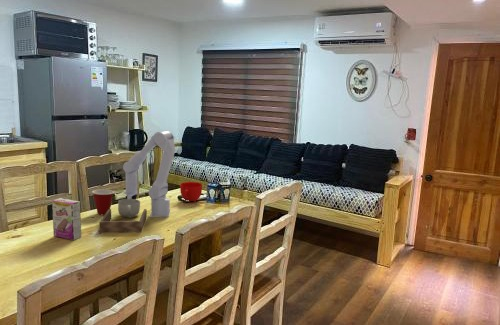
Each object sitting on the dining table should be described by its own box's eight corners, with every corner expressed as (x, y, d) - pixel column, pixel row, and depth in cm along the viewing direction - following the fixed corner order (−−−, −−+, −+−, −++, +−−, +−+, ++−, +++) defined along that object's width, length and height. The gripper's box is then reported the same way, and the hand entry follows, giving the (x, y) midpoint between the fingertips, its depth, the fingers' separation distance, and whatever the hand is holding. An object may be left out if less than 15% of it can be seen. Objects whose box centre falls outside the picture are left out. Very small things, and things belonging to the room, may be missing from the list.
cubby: (146, 218, 197) (146, 209, 196) (141, 232, 179) (141, 221, 178) (108, 218, 195) (108, 209, 194) (99, 232, 176) (99, 222, 175)
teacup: (121, 212, 205) (120, 197, 204) (142, 212, 206) (142, 198, 205) (114, 221, 192) (114, 205, 190) (137, 221, 193) (136, 205, 191)
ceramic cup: (174, 204, 222) (174, 187, 221) (184, 197, 239) (184, 181, 237) (196, 206, 220) (196, 189, 219) (204, 198, 237) (204, 182, 235)
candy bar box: (52, 236, 169) (50, 200, 166) (61, 233, 174) (60, 197, 171) (73, 241, 166) (71, 203, 163) (82, 237, 170) (80, 200, 167)
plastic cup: (119, 212, 205) (118, 190, 203) (102, 217, 196) (101, 194, 193) (105, 208, 210) (105, 187, 208) (88, 213, 201) (87, 191, 199)
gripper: (126, 180, 212) (126, 204, 214) (120, 187, 198) (121, 212, 200) (139, 180, 213) (139, 204, 215) (135, 187, 199) (135, 212, 201)
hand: (131, 208), depth 208 cm, fingers closed
